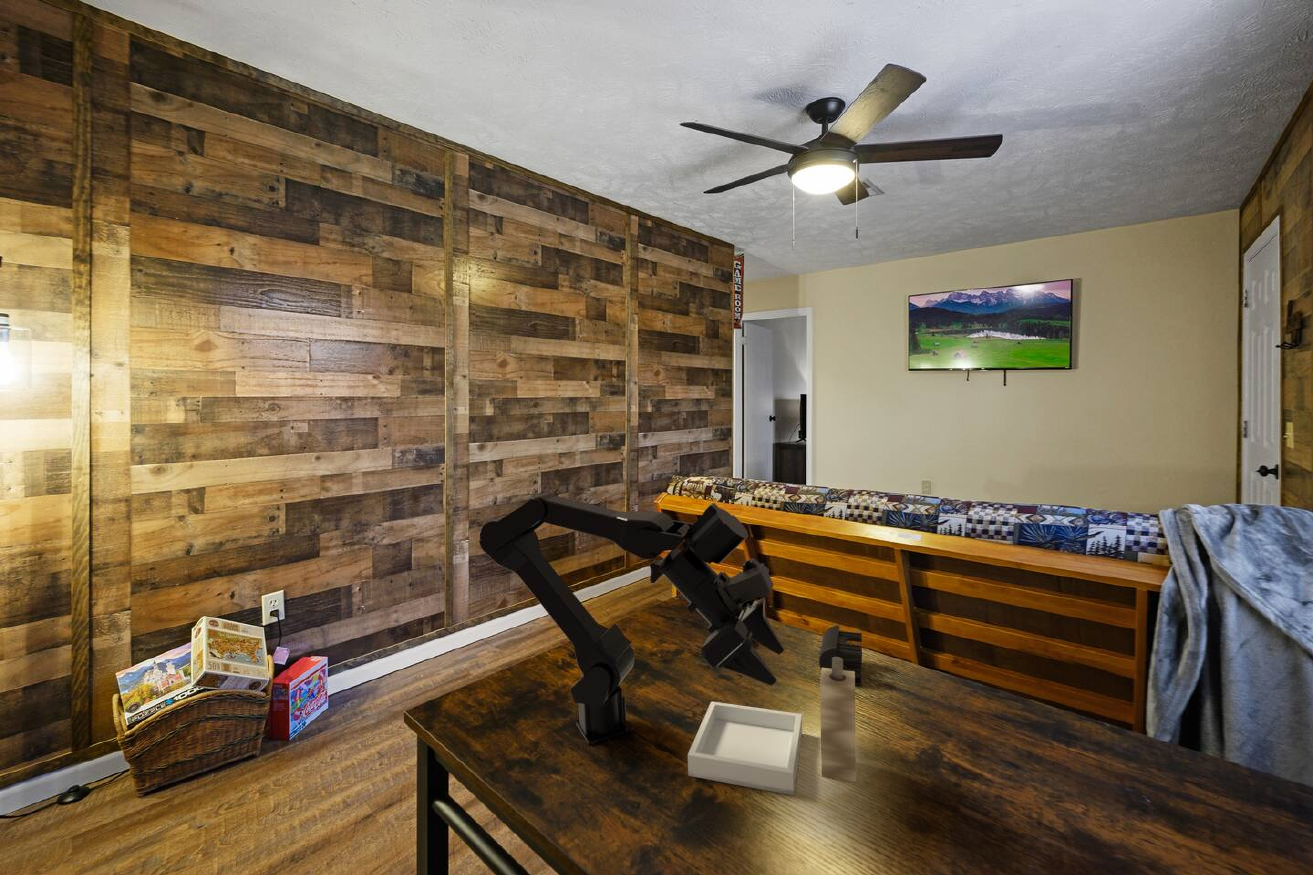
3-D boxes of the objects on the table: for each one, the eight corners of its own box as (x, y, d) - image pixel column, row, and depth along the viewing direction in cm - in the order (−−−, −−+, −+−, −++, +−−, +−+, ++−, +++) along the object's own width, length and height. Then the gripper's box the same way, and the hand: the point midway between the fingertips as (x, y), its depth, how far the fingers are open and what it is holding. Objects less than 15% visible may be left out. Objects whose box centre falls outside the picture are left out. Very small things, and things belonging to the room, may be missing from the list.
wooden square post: (821, 776, 77) (819, 664, 76) (823, 756, 81) (821, 650, 80) (856, 782, 75) (854, 668, 74) (855, 761, 80) (854, 653, 78)
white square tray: (688, 775, 78) (687, 754, 78) (711, 719, 91) (711, 701, 91) (793, 795, 73) (792, 773, 73) (802, 733, 87) (801, 714, 86)
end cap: (823, 657, 111) (822, 623, 110) (862, 662, 108) (861, 627, 108) (818, 682, 102) (818, 645, 101) (861, 688, 99) (861, 650, 99)
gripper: (723, 566, 71) (816, 662, 69) (748, 531, 89) (823, 606, 86) (665, 622, 75) (752, 715, 72) (700, 577, 92) (771, 650, 89)
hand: (778, 666), depth 80 cm, fingers open, 9 cm apart
